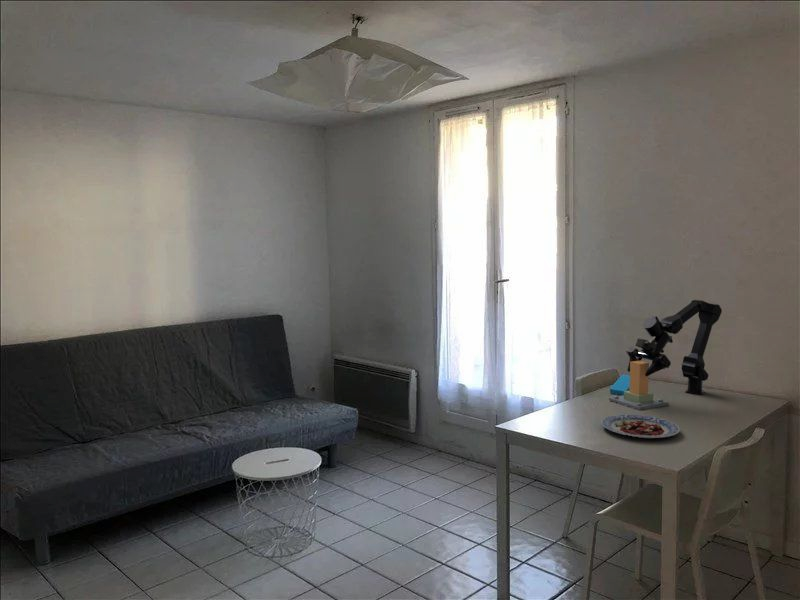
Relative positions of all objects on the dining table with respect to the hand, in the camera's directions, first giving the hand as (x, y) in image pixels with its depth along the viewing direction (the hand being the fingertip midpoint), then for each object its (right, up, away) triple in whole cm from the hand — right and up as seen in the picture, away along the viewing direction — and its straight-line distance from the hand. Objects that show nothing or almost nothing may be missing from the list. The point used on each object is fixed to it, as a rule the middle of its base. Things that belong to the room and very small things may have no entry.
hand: (636, 373), depth 260 cm
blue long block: (+3, -10, +22) cm, 24 cm away
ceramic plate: (-11, -17, -33) cm, 39 cm away
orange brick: (+1, -8, +1) cm, 8 cm away
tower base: (+1, -12, +2) cm, 12 cm away
